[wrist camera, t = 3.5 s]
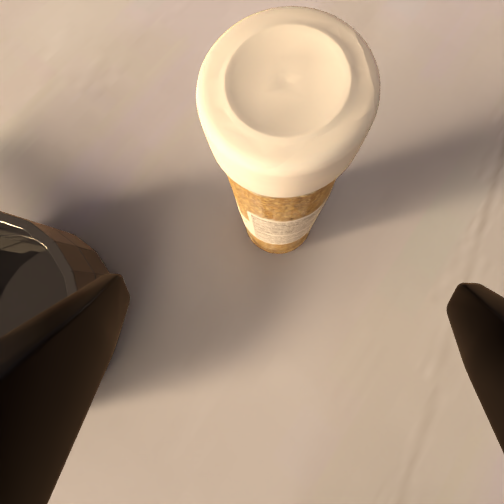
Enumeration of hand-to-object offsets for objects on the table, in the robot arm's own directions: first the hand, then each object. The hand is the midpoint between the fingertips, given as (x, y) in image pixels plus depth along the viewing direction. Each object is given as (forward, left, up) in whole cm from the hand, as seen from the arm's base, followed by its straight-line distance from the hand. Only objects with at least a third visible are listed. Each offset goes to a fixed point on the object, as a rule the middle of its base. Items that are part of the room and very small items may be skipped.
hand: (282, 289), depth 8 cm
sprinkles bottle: (+4, -2, -12) cm, 13 cm away
